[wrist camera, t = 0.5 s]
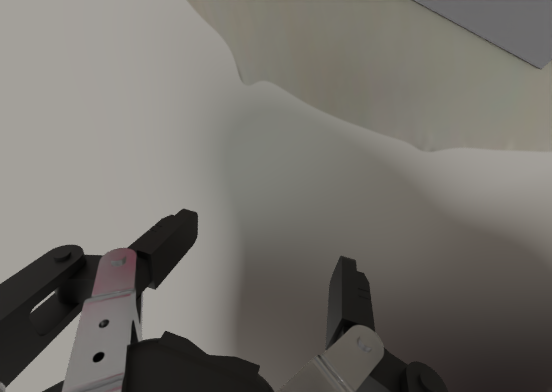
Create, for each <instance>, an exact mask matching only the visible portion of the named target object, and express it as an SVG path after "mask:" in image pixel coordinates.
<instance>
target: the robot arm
mask: <svg viewBox="0 0 552 392" xmlns="http://www.w3.org/2000/svg"><path fill="white" fill-rule="evenodd" d="M197 235H198V215H197V213H196V212H193V211H190V210H186V209H182V210H181V211H179V212H178V213H177V214H176V215H175V216H174V215H170V216H167V217H165V218H163V219H161V220H160V221H159V222H158V223H157V224H155V226H153V227H152V228H151V229H150V230H148V231H147V232H146V233H145V234H143V235H142V236H141V237H140V238H139V239H137V240H136V241H135V242H134V243H133V244H131V245H130V246H129V247H128V248H118V249H114V250H111V251H110V252H107V253H106V254H105V255H103V256H101V255H84V252H83V249H82V248H81V247H80V246H77V245H65V246H60V247H57V248H55V249H52V250H51V251H49V252H47V253H46V254H44V255H43V256H42V257H40V258H38V259H37V260H35V261H34V262H33V263H31V264H29V265H28V266H27V267H25V268H24V269H22V270H21V271H19V272H18V273H16V274H15V275H13V276H12V277H10V278H9V279H7V280H6V281H4V282H3V283H1V284H0V392H5V388H6V387H7V386H8V385H9V384H10V383H11V382H12V381H13V380H14V379H15V378H16V377H17V376H18V375H19V374H20V373H21V372H22V371H23V370H24V369H25V368H26V367H27V366H28V365H29V364H30V362H32V361H33V360H34V359H35V358H36V357H37V356H38V355H39V354H40V353H41V352H42V351H43V350H44V349H45V348H46V347H47V345H49V343H50V342H51V341H52V340H53V339H54V338H55V337H56V336H57V335H58V334H59V333H60V332H61V331H62V330H63V329H64V328H65V327H66V326H67V325H68V324H69V323H70V322H71V321H72V320H73V319H74V318H75V317H76V316H77V315H78V314H79V313H80V312H81V311H82V312H81V316H80V320H79V324H78V328H77V332H76V337H75V341H74V345H73V349H72V352H71V357H70V360H69V364H68V368H67V373H66V377H65V380H64V381H61V382H60V383H58V384H56V385H54V386H52V387H50V388H48V389H46V390H45V391H43V392H274V390H273V389H272V387H271V386H270V385H269V384H268V382H267V381H266V380H265V379H264V378H263V377H261V376H260V375H259V374H258V371H259V368H260V366H259V365H256V364H254V363H251V362H248V361H246V360H243V359H240V358H238V357H230V356H215V355H208V354H206V353H205V352H204V351H202V350H201V349H200V348H199V347H197V346H196V345H195V344H193V343H192V342H191V341H189V340H188V339H186V338H183V337H181V336H178V335H175V334H173V333H170V332H167V331H165V332H164V334H163V335H162V337H161V338H154V339H148V340H143V341H142V307H143V291H144V290H145V288H147V287H149V288H152V289H156V288H157V287H158V286H159V285H160V284H161V282H162V281H163V280H164V279H165V278H166V277H167V275H168V274H169V273H170V272H171V270H172V269H173V268H174V267H175V266H176V265H177V264H178V262H179V261H180V260H181V259H182V258H183V256H184V255H185V254H186V253H187V252H188V250H189V249H190V248H191V247H192V246H193V244H194V243H195V241H196V239H197ZM53 291H55V293H54V294H53V295H52V296H51V297H50V298H48V299H47V300H46V301H45V302H44V303H42V304H41V305H40V306H39V307H38V308H36V309H35V310H34V311H33V312H32V313H31V311H32V309H33V308H34V307H35V306H36V305H37V304H38V303H40V302H41V301H42V300H43V299H44V298H46V297H47V296H48V295H49V294H50V293H51V292H53ZM30 313H31V314H30ZM326 350H327V351H326V352H325V353H323V354H322V355H321V356H319V355H317V356H316V357H315V358H313V359H312V360H311V361H310V362H309V363H307V364H306V365H305V366H304V367H303V368H302V369H301V370H300V371H299V372H298V373H297V374H295V375H294V376H293V377H292V378H291V379H290V380H289V381H288V382H287V383H286V384H285V385H283V386H282V387H281V388H280V389H279V390H278V391H277V392H448V390H447V388H446V385H445V384H444V382H443V380H442V379H441V378H440V376H439V375H438V374H437V373H436V372H435V371H434V370H433V369H431V368H430V367H429V366H427V365H426V364H423V363H420V362H411V363H410V364H409V365H407V364H406V363H404V362H403V361H401V360H400V359H398V358H397V357H395V356H394V355H392V354H391V353H389V352H388V351H387V350H386V349H385V348H384V347H383V344H382V341H381V339H380V338H379V337H378V335H377V334H376V333H375V327H374V319H373V311H372V303H371V295H370V287H369V282H368V280H367V278H366V276H365V274H364V273H362V272H358V271H357V269H356V260H354V259H350V258H347V257H344V256H340V258H339V260H338V263H337V265H336V267H335V269H334V272H333V274H332V277H331V280H330V285H329V299H328V316H327V333H326Z"/></svg>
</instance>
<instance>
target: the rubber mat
mask: <svg viewBox="0 0 552 392" xmlns="http://www.w3.org/2000/svg"><path fill="white" fill-rule="evenodd" d="M414 1H415V2H417V3H419V4H421V5H423V6H425V7H426V8H428V9H430V10H432V11H434V12H436V13H438V14H439V15H441V16H443V17H445V18H447V19H449V20H450V21H452V22H454V23H456V24H458V25H460V26H461V27H463V28H465V29H467V30H469V31H471V32H473V33H474V34H476V35H478V36H480V37H482V38H484V39H485V40H487V41H489V42H491V43H493V44H495V45H496V46H498V47H500V48H502V49H504V50H506V51H508V52H509V53H511V54H513V55H515V56H517V57H519V58H520V59H522V60H524V61H526V62H528V63H530V64H531V65H533V66H535V67H537V68H539V69H542V68H543V67H544V66H545V65H546V64H547V63H548V62H550V61H551V60H552V0H414Z"/></svg>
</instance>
